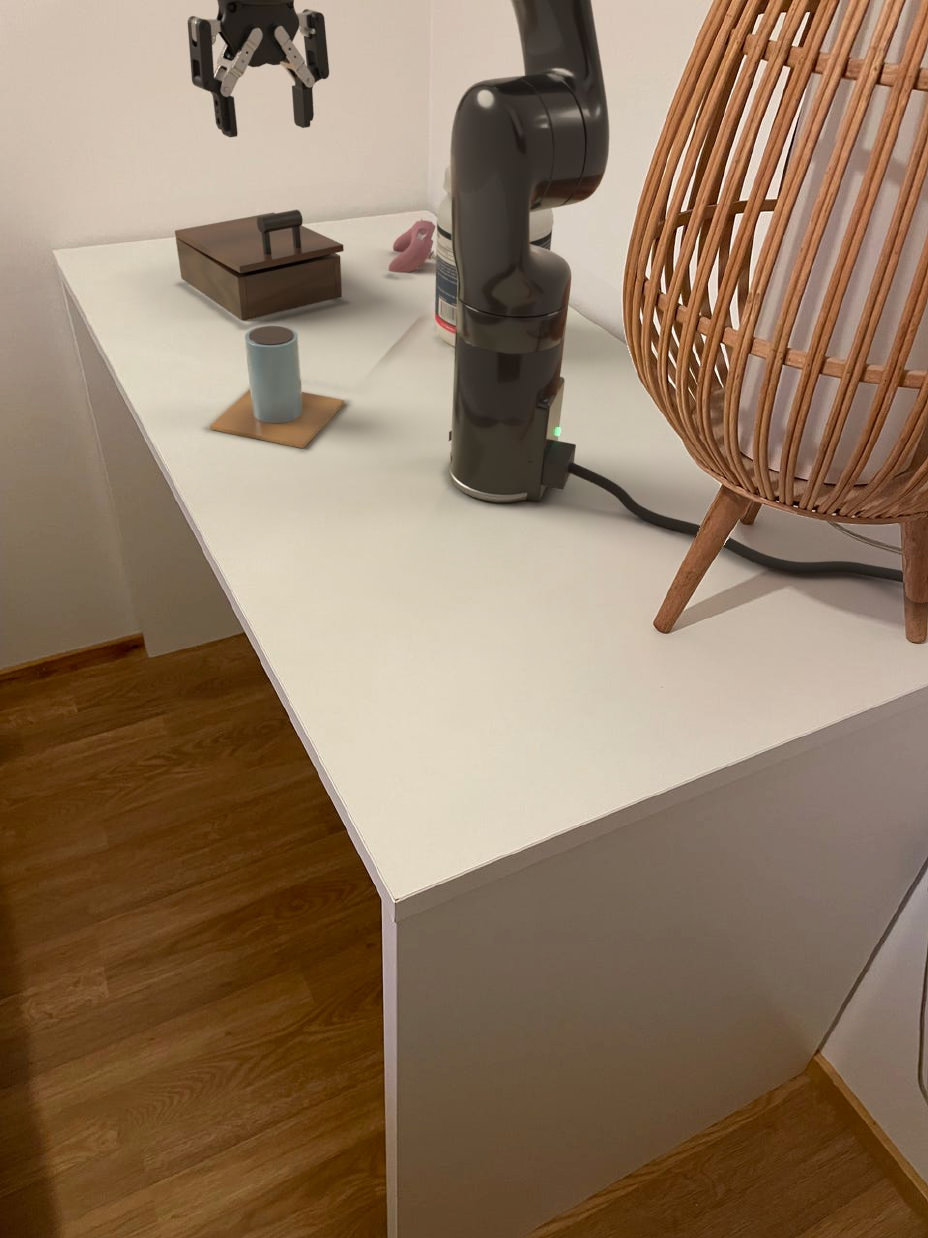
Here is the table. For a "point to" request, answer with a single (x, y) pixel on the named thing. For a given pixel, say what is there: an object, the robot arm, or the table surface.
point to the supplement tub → (446, 265)
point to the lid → (259, 241)
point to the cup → (274, 373)
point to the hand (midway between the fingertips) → (267, 130)
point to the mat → (289, 433)
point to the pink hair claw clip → (413, 247)
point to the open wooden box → (261, 282)
